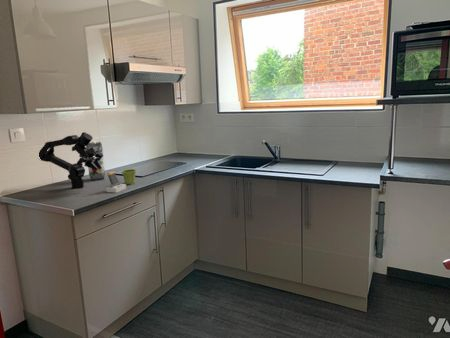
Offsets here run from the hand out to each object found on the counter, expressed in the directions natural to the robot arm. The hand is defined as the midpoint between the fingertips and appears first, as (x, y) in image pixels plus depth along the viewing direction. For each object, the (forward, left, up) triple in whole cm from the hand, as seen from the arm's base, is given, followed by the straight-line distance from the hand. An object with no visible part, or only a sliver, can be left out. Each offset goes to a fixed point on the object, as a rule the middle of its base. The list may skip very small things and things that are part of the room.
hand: (99, 169), depth 213 cm
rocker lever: (+8, -7, -9) cm, 14 cm away
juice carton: (-1, +31, -13) cm, 34 cm away
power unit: (+8, -7, -13) cm, 16 cm away
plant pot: (+18, +6, -13) cm, 23 cm away
